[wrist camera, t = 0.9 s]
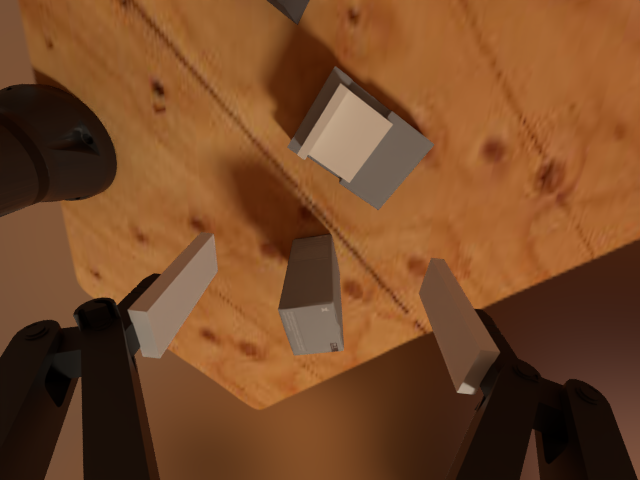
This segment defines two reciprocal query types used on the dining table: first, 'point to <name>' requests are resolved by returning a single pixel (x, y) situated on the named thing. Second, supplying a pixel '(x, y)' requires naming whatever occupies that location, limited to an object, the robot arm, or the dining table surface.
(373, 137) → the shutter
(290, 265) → the skincare box
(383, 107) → the socket
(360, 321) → the dining table surface
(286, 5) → the plug
